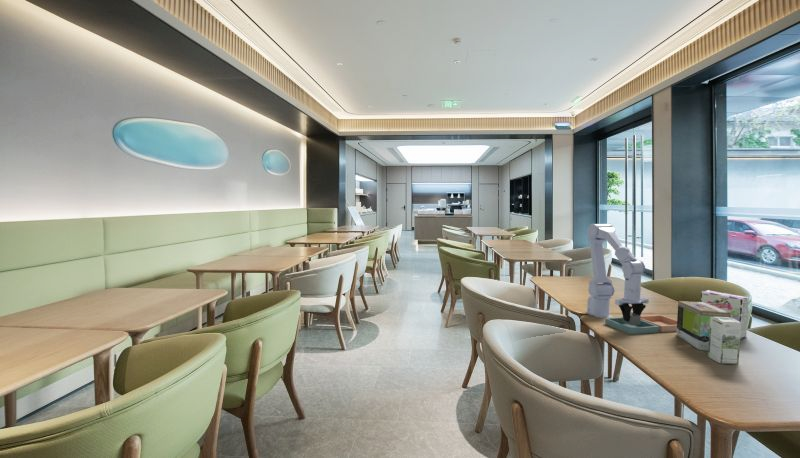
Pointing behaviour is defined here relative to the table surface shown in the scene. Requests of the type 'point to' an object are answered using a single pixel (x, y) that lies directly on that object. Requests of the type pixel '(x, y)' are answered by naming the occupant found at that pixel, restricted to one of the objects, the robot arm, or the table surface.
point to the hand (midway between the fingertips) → (631, 320)
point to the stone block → (633, 319)
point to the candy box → (729, 306)
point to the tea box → (697, 322)
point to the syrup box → (724, 340)
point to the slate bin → (632, 326)
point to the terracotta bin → (661, 322)
